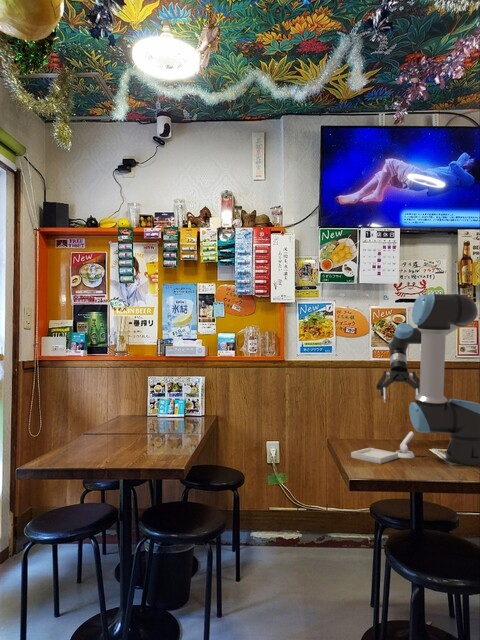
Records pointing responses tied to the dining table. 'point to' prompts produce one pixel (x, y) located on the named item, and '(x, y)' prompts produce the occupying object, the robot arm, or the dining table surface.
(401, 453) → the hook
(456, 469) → the dining table surface
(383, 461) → the tray
